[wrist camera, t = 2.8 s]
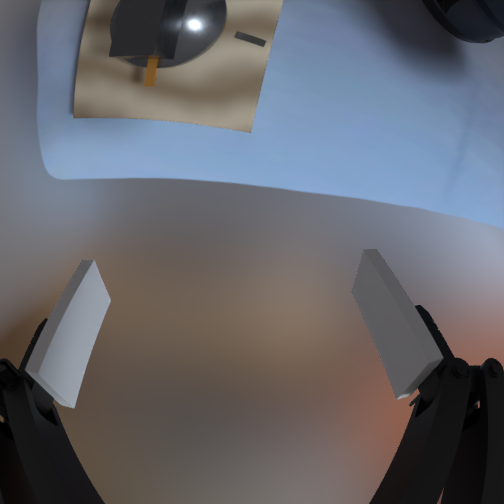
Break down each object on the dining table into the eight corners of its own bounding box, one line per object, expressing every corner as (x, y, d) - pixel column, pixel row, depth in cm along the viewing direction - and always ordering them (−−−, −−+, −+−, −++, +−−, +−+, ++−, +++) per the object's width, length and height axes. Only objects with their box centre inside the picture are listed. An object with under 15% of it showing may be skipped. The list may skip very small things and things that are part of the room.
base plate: (115, -45, 12) (103, -53, 9) (294, -43, 15) (299, -55, 12) (81, 115, 26) (66, 120, 23) (250, 129, 29) (250, 135, 26)
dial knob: (131, -21, 14) (98, -41, 8) (238, -22, 16) (234, -53, 9) (108, 85, 22) (68, 93, 16) (210, 90, 24) (196, 94, 17)
